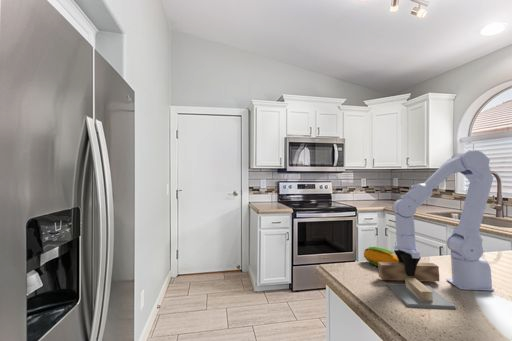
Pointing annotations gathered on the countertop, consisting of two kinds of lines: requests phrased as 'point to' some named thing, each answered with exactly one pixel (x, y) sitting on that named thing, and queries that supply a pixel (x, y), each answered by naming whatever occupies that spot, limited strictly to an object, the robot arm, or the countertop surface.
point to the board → (413, 301)
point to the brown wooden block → (399, 273)
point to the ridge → (419, 289)
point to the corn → (379, 255)
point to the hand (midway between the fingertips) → (407, 273)
